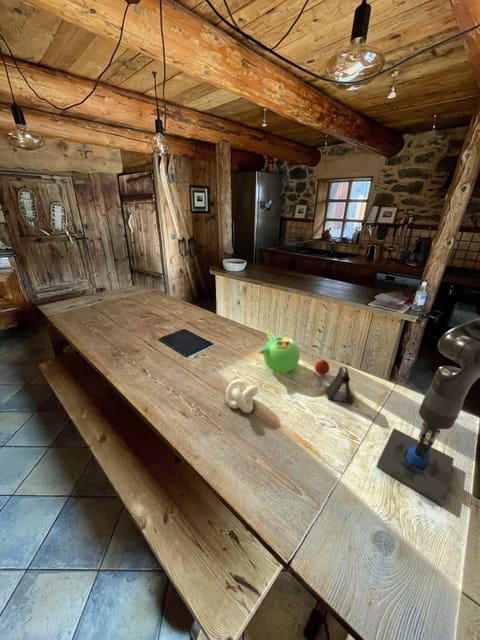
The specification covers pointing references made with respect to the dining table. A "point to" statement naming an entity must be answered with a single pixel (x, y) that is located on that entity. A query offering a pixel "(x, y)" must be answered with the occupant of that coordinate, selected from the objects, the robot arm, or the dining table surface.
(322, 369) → the strawberry
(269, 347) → the toy bird
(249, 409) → the cream knot sculpture
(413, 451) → the sink plug
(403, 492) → the dining table surface
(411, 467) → the dark rectangular plate
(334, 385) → the phone stand
